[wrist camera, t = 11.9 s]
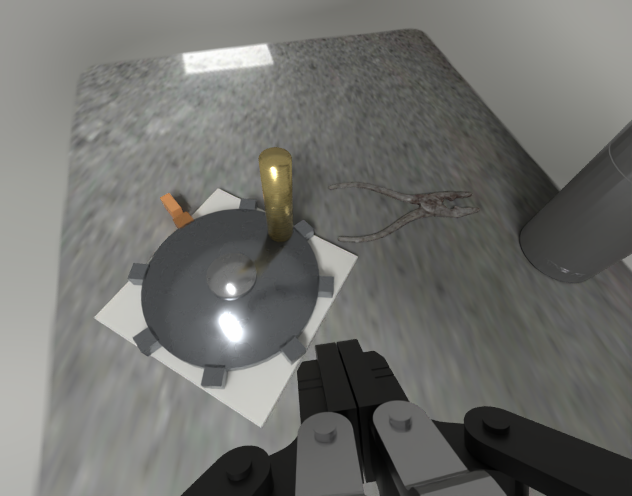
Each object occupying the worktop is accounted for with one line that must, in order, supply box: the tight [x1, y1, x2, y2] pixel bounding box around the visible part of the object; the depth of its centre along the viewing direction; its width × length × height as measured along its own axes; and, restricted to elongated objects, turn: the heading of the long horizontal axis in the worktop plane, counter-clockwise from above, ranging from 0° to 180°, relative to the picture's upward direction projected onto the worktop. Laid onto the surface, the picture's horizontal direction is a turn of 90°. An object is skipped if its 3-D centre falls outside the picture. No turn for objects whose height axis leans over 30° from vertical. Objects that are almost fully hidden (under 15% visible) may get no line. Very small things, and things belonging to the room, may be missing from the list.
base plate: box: [94, 189, 358, 428], centre depth 36 cm, size 20×24×2 cm
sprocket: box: [128, 147, 334, 389], centre depth 31 cm, size 21×21×12 cm
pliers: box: [328, 182, 480, 242], centre depth 44 cm, size 10×1×20 cm
